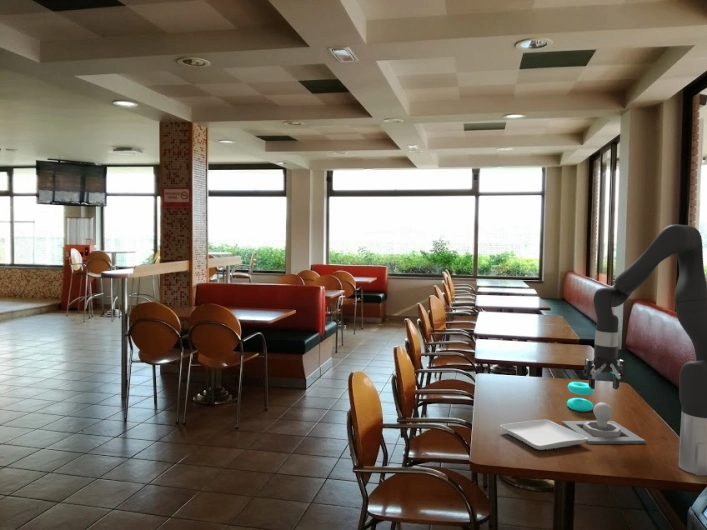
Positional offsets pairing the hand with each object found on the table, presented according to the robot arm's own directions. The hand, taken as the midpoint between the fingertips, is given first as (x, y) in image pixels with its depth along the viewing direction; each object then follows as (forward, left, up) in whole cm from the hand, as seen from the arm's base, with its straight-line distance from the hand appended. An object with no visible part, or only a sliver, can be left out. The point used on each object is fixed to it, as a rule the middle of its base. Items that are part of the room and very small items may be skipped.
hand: (603, 388), depth 198 cm
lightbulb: (0, 0, -16) cm, 16 cm away
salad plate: (-6, +24, -17) cm, 30 cm away
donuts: (+28, -6, -16) cm, 33 cm away
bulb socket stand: (0, 0, -16) cm, 16 cm away
